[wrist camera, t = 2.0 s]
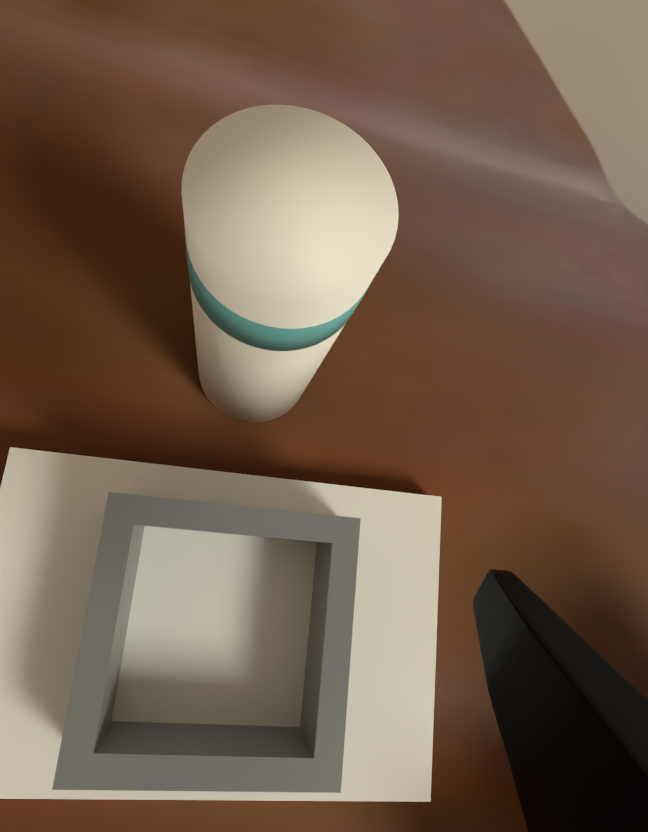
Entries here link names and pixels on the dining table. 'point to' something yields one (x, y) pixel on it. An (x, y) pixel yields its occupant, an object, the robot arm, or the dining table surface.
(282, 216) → the teal-banded cream cylinder
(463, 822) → the dining table surface
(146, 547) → the jig
